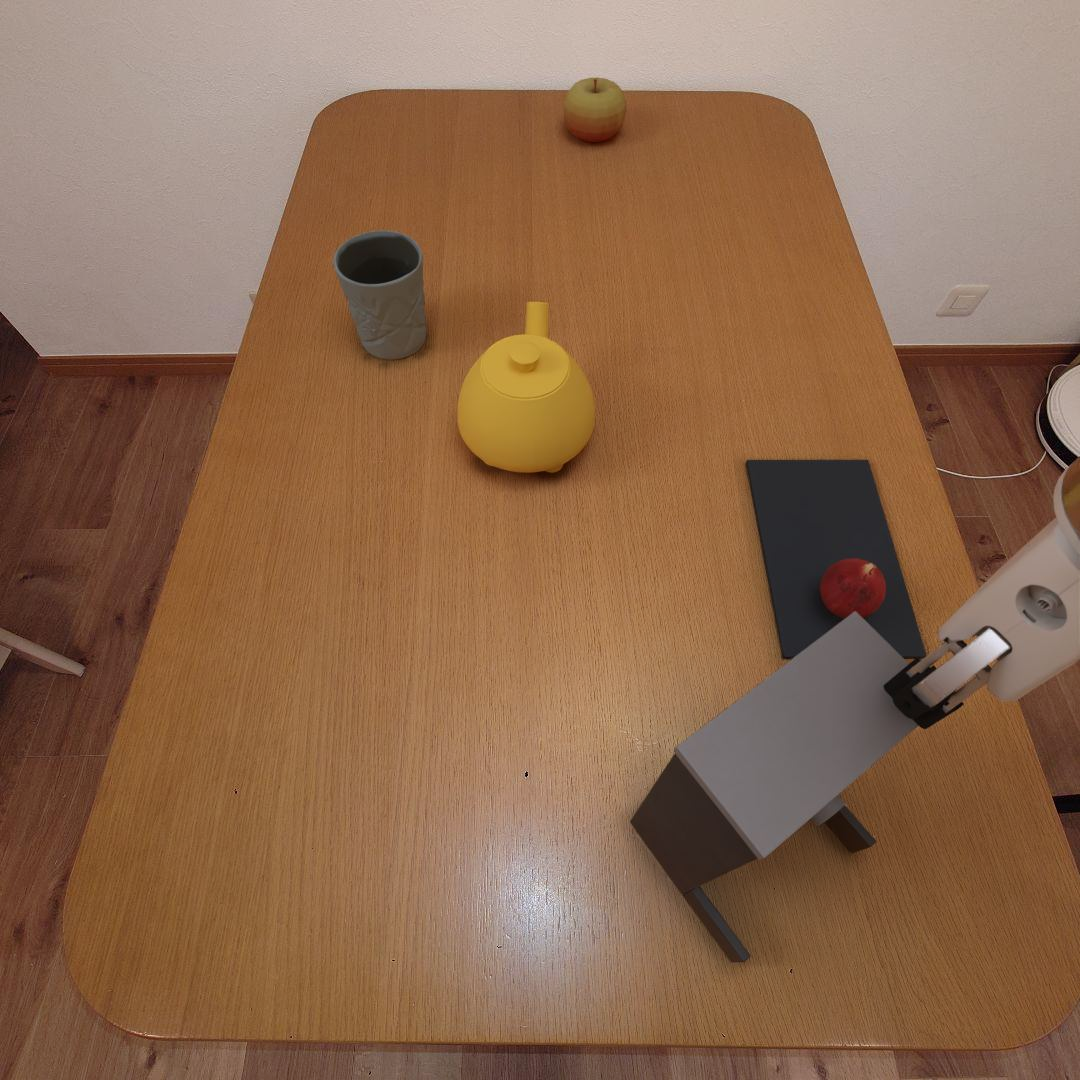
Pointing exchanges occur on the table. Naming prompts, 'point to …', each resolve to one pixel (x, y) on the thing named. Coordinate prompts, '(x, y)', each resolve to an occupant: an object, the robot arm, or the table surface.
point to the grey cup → (384, 291)
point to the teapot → (526, 401)
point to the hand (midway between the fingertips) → (959, 663)
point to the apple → (594, 109)
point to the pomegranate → (853, 588)
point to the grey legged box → (775, 766)
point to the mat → (825, 547)
